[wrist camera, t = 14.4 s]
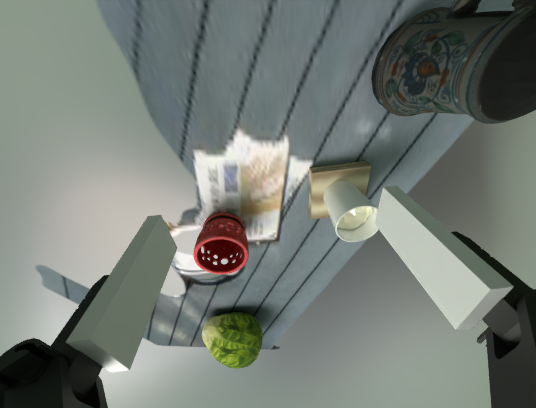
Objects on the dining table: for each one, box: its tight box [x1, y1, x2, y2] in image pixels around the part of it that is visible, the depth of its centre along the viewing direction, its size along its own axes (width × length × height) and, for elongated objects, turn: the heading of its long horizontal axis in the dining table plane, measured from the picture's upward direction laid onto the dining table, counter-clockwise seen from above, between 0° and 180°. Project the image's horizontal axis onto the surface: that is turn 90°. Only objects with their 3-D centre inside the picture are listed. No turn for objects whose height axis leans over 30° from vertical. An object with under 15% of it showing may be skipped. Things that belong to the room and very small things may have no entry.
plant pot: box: [194, 213, 249, 274], centre depth 55 cm, size 13×13×12 cm
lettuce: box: [202, 312, 262, 368], centre depth 80 cm, size 19×23×18 cm
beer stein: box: [372, 0, 536, 124], centre depth 30 cm, size 16×19×25 cm
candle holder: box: [323, 180, 379, 242], centre depth 48 cm, size 10×10×12 cm
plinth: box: [309, 161, 371, 219], centre depth 54 cm, size 14×14×3 cm
